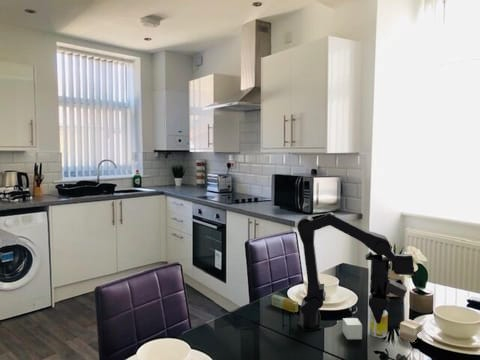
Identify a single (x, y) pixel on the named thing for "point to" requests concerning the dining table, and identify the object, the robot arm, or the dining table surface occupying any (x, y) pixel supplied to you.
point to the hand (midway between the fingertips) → (378, 317)
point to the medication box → (284, 303)
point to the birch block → (410, 330)
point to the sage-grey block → (352, 328)
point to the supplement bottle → (379, 325)
